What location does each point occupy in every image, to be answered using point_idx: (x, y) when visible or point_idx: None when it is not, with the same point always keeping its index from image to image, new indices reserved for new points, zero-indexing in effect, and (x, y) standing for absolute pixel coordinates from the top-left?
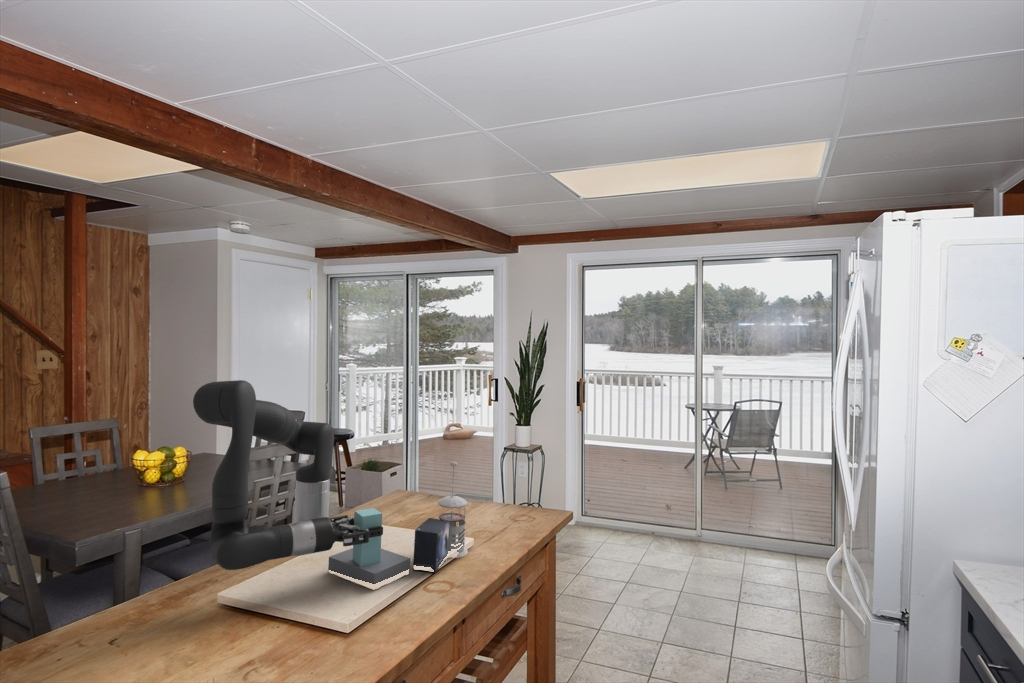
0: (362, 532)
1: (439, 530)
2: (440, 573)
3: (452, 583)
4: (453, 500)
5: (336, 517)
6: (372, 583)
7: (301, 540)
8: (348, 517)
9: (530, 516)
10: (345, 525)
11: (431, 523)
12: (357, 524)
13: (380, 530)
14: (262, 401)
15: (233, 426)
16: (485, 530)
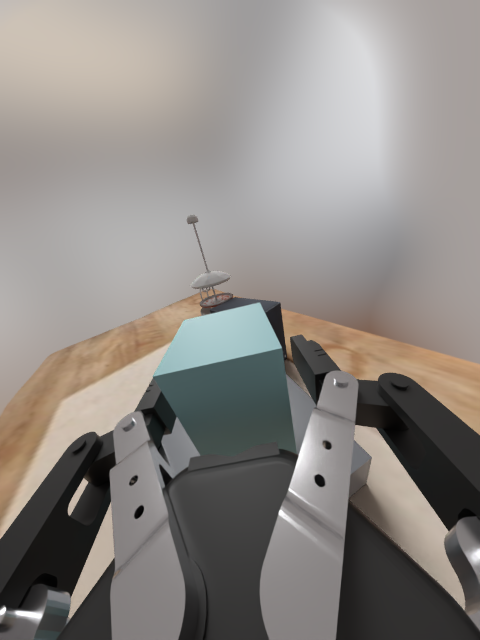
0: (426, 407)
1: (269, 301)
2: (289, 352)
3: (327, 345)
4: (218, 273)
5: (15, 533)
6: (363, 478)
7: None
8: (113, 435)
9: (200, 298)
10: (323, 535)
11: (236, 306)
12: (225, 411)
13: (316, 346)
14: None
15: None
16: (201, 315)
